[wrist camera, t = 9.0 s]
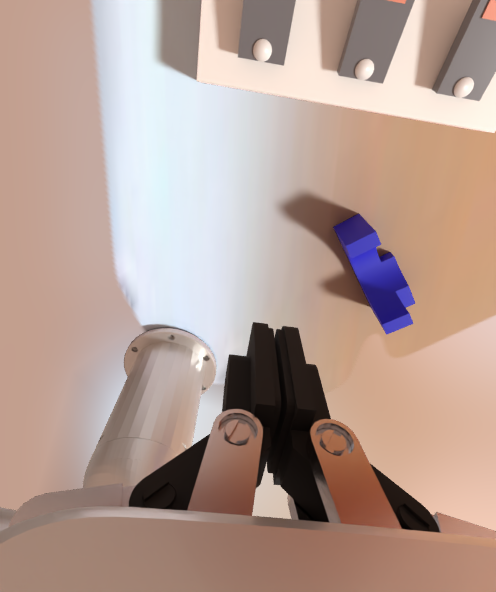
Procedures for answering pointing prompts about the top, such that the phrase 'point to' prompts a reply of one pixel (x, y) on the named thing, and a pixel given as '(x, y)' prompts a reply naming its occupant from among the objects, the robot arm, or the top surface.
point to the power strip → (327, 53)
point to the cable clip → (376, 274)
